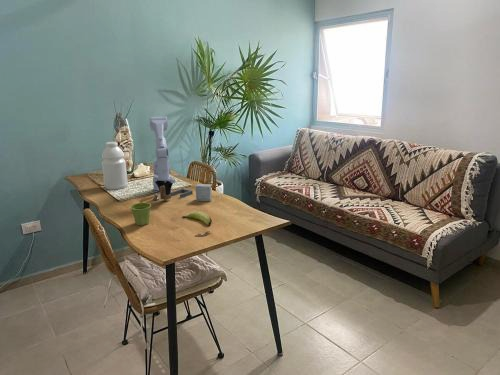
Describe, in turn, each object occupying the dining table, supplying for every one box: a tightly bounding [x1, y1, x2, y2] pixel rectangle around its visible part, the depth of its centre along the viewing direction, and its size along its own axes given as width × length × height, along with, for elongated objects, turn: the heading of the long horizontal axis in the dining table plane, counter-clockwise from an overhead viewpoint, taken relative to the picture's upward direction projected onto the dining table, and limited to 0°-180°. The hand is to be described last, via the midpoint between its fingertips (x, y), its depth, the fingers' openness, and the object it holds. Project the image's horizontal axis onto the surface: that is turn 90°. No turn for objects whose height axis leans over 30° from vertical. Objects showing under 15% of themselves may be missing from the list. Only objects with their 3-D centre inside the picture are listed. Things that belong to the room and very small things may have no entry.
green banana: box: [181, 209, 213, 238], centre depth 177 cm, size 35×27×4 cm
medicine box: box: [195, 183, 213, 202], centre depth 206 cm, size 8×4×9 cm, turn 84°
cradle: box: [171, 188, 194, 199], centre depth 216 cm, size 8×10×2 cm
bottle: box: [100, 141, 129, 191], centre depth 228 cm, size 14×14×28 cm
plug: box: [159, 185, 172, 201], centre depth 205 cm, size 4×4×7 cm
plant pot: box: [129, 202, 152, 226], centre depth 173 cm, size 9×9×9 cm
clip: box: [138, 193, 159, 203], centre depth 203 cm, size 12×2×2 cm, turn 144°
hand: (165, 193), depth 205 cm, fingers closed on plug, 4 cm apart
